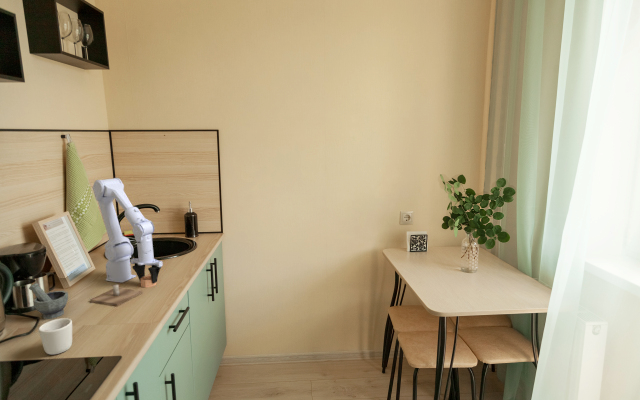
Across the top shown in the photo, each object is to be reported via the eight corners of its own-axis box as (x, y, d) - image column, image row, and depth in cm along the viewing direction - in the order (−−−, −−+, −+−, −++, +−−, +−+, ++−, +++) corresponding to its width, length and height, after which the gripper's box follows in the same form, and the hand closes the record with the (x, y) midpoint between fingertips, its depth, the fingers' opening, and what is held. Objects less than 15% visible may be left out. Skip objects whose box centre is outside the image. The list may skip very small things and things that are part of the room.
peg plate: (90, 302, 141) (88, 289, 140) (116, 289, 152) (115, 277, 151) (117, 306, 137) (116, 293, 136) (142, 293, 148) (140, 281, 147)
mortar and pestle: (75, 307, 136) (71, 276, 134) (61, 320, 127) (56, 287, 125) (42, 310, 135) (37, 278, 133) (25, 322, 125) (20, 289, 123)
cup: (58, 338, 116) (55, 314, 114) (85, 336, 116) (82, 312, 115) (35, 358, 105) (31, 332, 104) (65, 356, 106) (61, 330, 104)
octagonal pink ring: (137, 286, 155) (137, 279, 154) (148, 281, 160) (147, 274, 160) (149, 288, 153) (148, 281, 153) (159, 282, 159) (158, 276, 158)
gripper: (123, 251, 153) (127, 283, 155) (152, 254, 148) (155, 287, 151) (137, 246, 159) (140, 276, 162) (165, 249, 155) (167, 280, 157)
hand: (148, 281), depth 157 cm, fingers closed on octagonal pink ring, 6 cm apart
